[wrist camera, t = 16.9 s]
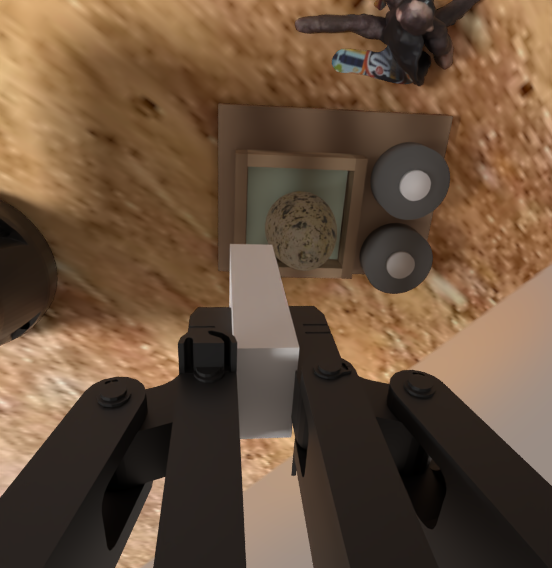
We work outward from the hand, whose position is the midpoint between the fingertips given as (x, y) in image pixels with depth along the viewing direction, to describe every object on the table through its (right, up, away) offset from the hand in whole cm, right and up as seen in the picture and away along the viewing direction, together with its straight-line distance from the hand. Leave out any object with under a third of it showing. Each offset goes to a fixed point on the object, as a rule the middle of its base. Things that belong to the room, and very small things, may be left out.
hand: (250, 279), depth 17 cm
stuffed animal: (+10, +22, +21) cm, 32 cm away
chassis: (+6, +8, +26) cm, 28 cm away
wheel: (+12, +9, +23) cm, 27 cm away
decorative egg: (+3, +6, +26) cm, 26 cm away
